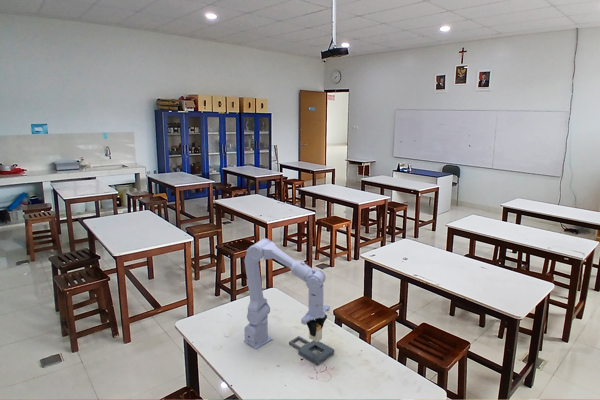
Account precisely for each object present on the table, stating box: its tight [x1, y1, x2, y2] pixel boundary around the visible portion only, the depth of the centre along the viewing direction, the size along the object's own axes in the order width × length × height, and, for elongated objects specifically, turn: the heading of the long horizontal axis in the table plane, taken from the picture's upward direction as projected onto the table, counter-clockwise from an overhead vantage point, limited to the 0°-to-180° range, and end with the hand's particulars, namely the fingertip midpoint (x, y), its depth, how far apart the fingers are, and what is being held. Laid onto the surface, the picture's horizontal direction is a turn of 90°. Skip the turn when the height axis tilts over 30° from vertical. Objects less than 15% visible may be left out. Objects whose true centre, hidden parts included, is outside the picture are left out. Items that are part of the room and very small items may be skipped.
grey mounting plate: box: [288, 335, 311, 351], centre depth 158 cm, size 6×7×1 cm
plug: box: [308, 324, 323, 342], centre depth 150 cm, size 3×4×6 cm
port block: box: [297, 340, 335, 366], centre depth 152 cm, size 10×10×2 cm
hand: (315, 333), depth 151 cm, fingers closed on plug, 3 cm apart
